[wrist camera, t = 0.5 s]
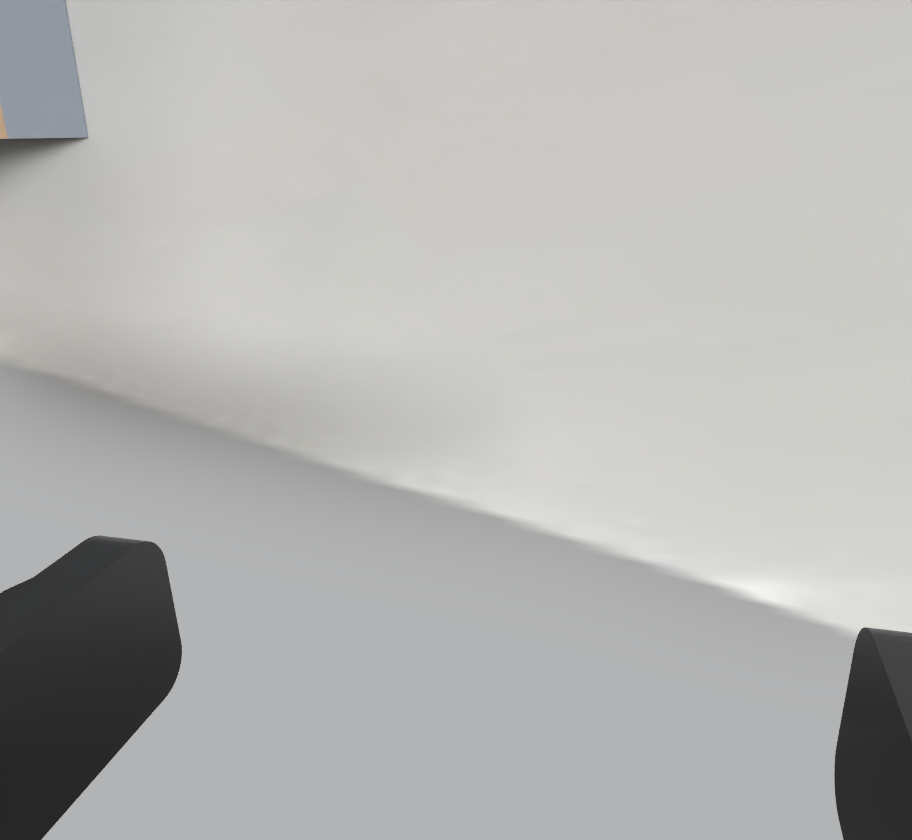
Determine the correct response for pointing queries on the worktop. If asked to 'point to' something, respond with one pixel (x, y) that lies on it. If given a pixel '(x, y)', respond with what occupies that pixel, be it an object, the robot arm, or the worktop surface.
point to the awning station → (38, 72)
